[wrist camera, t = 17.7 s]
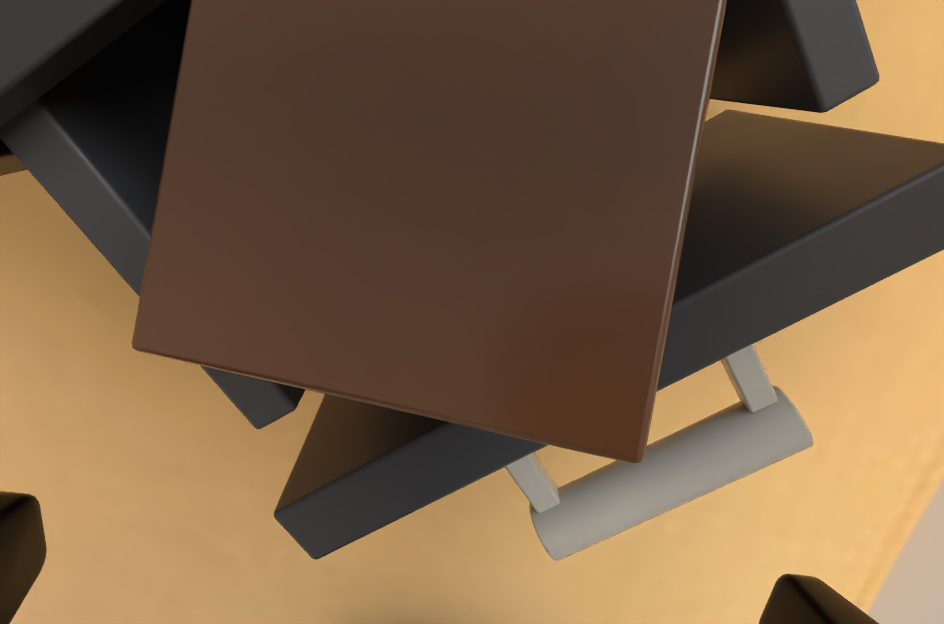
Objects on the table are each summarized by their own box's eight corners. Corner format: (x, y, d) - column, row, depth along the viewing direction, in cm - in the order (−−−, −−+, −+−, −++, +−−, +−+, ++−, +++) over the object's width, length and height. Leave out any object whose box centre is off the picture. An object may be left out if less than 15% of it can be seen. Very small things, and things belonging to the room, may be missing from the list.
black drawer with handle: (805, 296, 17) (1064, 471, 9) (461, 469, 19) (458, 718, 12) (474, -509, 11) (490, -1727, 3) (24, -119, 13) (-547, -360, 6)
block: (627, 399, 8) (643, 467, 4) (347, 342, 9) (127, 350, 5) (681, 94, 8) (756, -156, 4) (394, 70, 9) (213, -149, 5)
